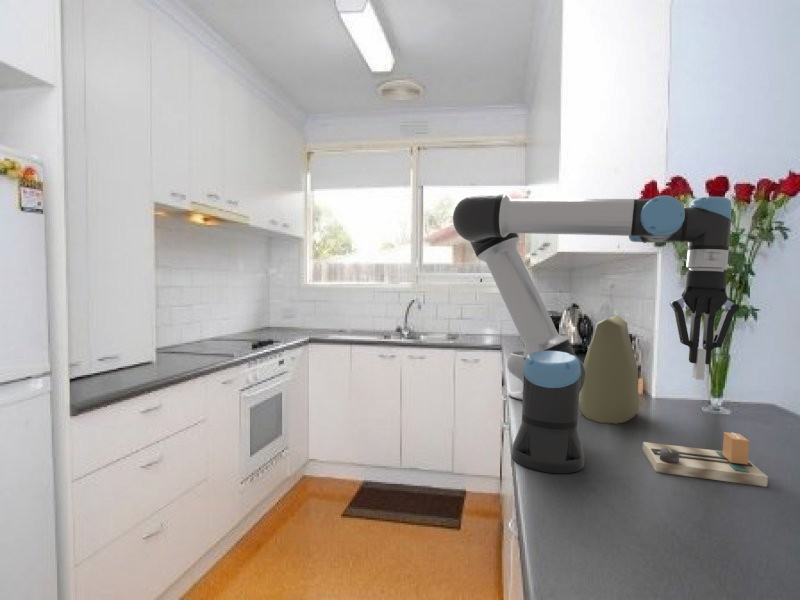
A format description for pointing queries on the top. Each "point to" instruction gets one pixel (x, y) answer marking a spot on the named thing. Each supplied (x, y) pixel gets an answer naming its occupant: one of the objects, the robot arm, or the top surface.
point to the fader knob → (735, 448)
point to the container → (610, 374)
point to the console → (701, 464)
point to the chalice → (517, 370)
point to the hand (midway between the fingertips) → (698, 378)
